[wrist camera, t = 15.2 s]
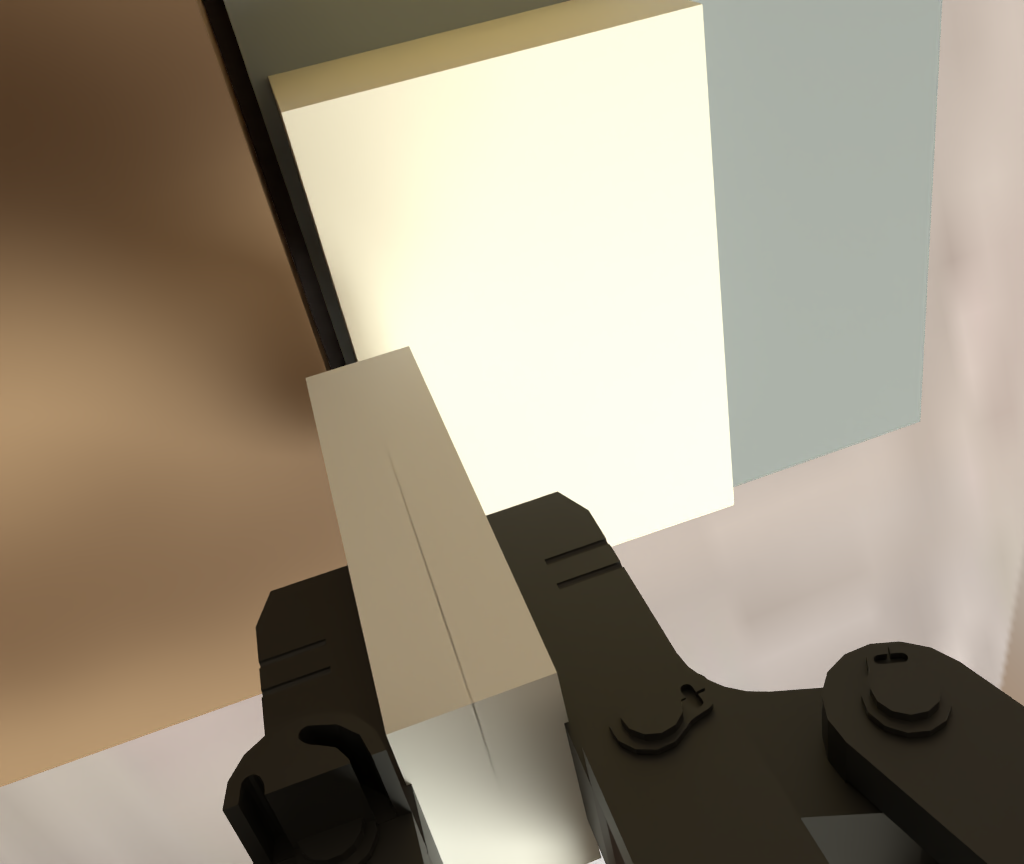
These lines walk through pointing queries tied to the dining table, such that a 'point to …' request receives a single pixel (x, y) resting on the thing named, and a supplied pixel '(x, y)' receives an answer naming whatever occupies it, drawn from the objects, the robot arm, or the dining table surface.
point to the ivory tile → (536, 247)
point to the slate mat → (744, 194)
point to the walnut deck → (141, 383)
